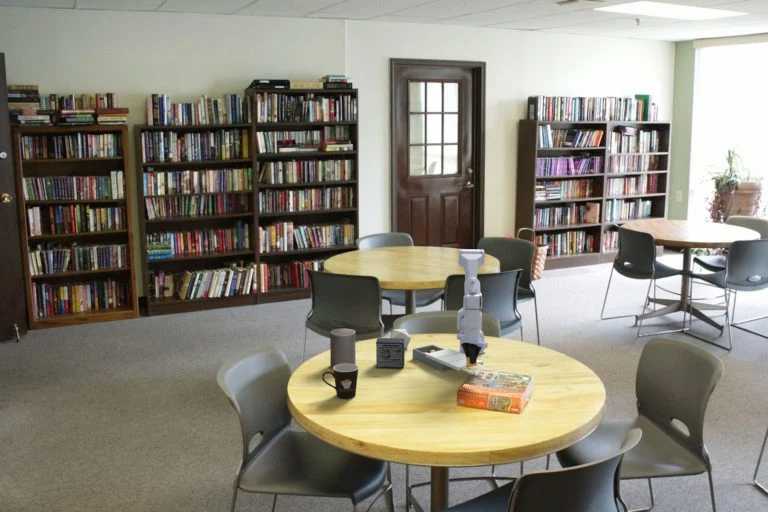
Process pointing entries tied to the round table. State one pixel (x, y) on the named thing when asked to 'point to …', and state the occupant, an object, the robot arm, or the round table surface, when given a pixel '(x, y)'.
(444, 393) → the round table surface
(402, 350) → the small box
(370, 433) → the round table surface
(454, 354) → the lid
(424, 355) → the tub
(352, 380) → the coffee mug
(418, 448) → the round table surface
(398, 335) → the die
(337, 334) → the pillar candle
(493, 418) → the round table surface
